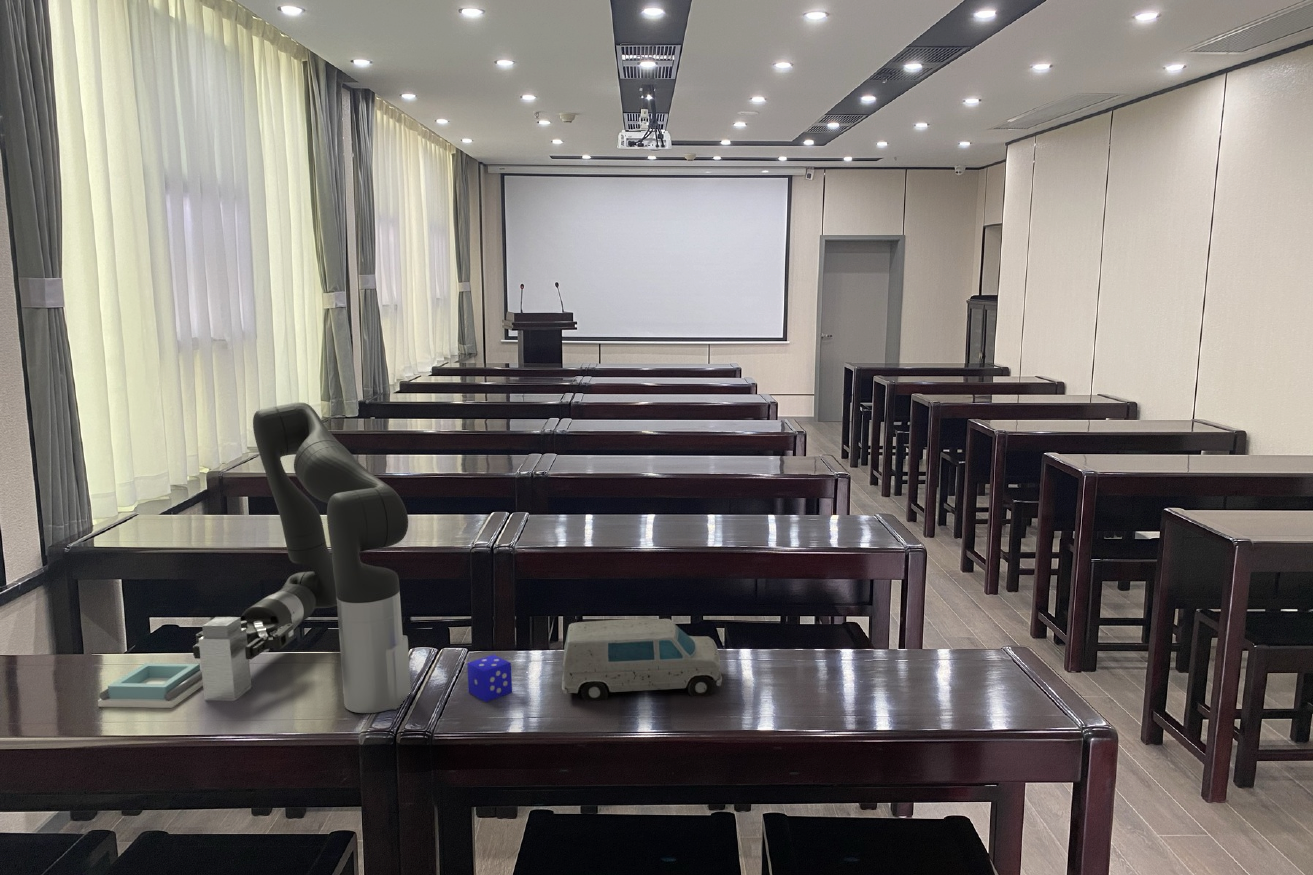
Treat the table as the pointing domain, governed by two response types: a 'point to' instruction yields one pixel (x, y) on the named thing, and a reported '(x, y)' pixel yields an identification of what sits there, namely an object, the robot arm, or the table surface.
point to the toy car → (637, 658)
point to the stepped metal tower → (224, 659)
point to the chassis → (153, 686)
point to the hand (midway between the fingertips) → (221, 653)
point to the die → (489, 677)
